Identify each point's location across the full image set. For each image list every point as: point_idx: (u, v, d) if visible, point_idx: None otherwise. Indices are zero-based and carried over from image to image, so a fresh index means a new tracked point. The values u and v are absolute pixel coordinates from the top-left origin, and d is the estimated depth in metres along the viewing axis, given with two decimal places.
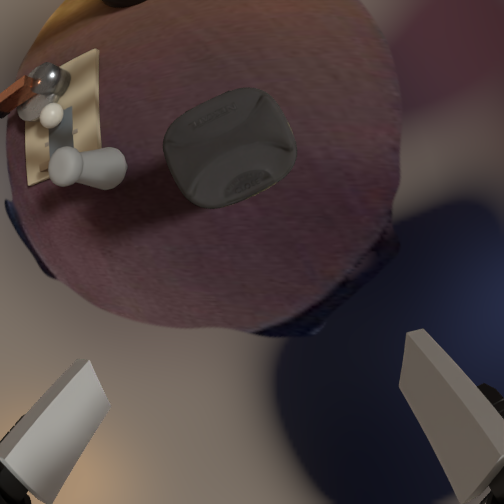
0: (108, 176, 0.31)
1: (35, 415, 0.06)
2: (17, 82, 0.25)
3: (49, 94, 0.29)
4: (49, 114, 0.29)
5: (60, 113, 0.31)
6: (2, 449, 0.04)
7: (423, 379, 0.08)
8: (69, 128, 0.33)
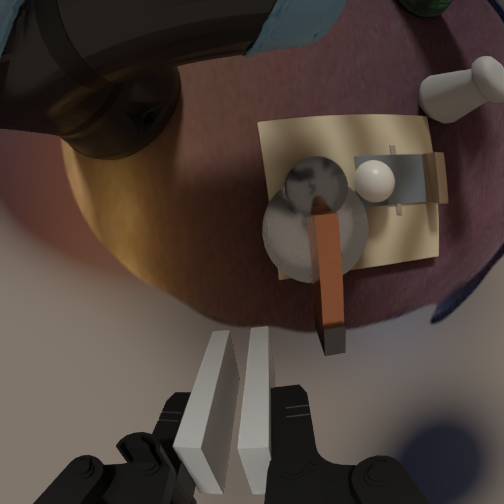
0: None
1: (207, 390, 0.08)
2: (321, 238, 0.21)
3: None
4: (384, 169, 0.23)
5: None
6: (186, 438, 0.06)
7: None
8: (387, 160, 0.26)
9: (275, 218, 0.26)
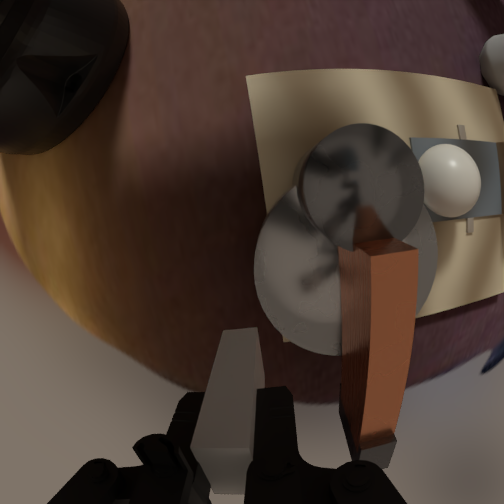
0: None
1: (222, 389, 0.08)
2: (381, 305, 0.09)
3: None
4: (470, 161, 0.10)
5: None
6: (204, 438, 0.06)
7: None
8: None
9: (278, 247, 0.13)
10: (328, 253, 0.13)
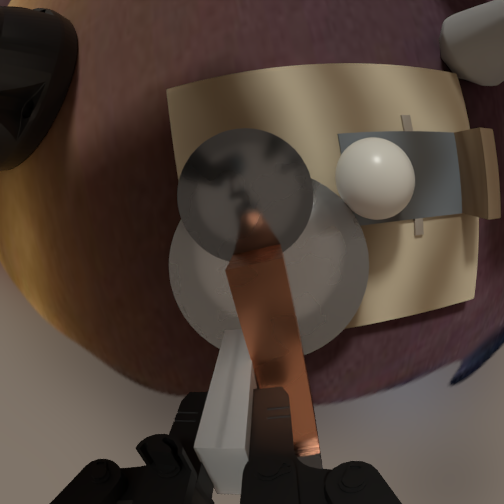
0: None
1: (225, 389, 0.08)
2: (251, 318, 0.09)
3: None
4: (395, 154, 0.11)
5: None
6: (207, 439, 0.06)
7: None
8: (398, 140, 0.14)
9: (188, 260, 0.14)
10: None
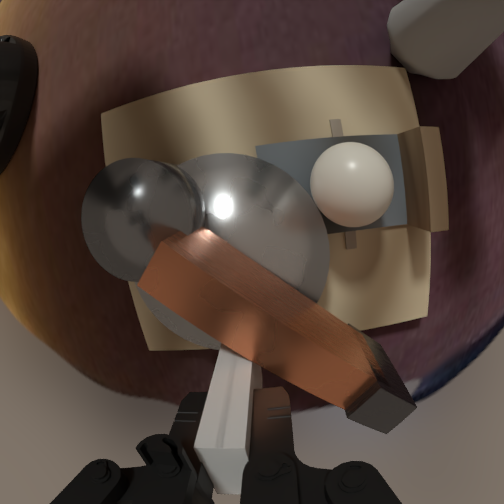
0: None
1: (225, 389, 0.08)
2: (185, 307, 0.09)
3: (181, 169, 0.12)
4: (371, 159, 0.11)
5: None
6: (207, 439, 0.06)
7: None
8: (324, 147, 0.14)
9: None
10: None
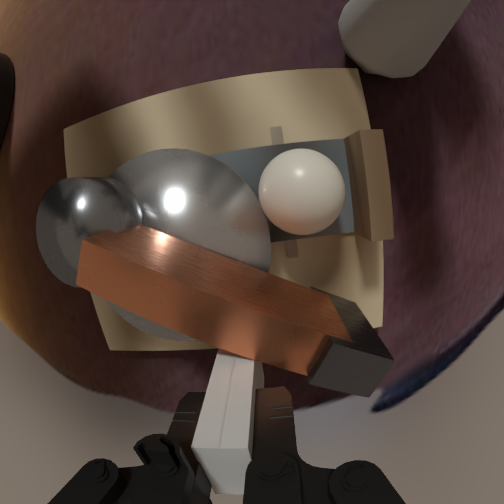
0: None
1: (223, 389, 0.08)
2: (115, 294, 0.09)
3: (111, 179, 0.13)
4: (316, 166, 0.11)
5: None
6: (204, 438, 0.06)
7: None
8: (263, 156, 0.15)
9: None
10: None
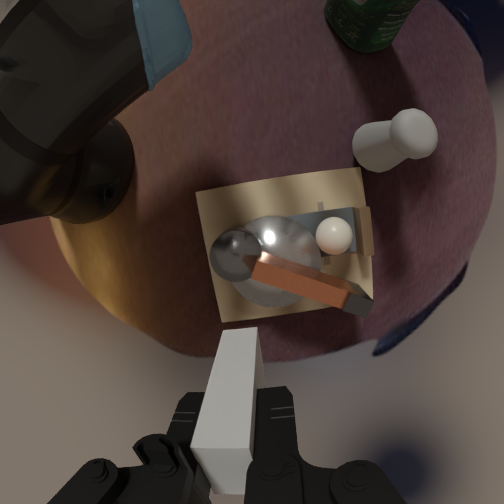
0: None
1: (222, 389, 0.08)
2: (270, 281, 0.26)
3: (246, 229, 0.29)
4: (341, 227, 0.28)
5: (335, 217, 0.29)
6: (204, 438, 0.06)
7: None
8: (314, 216, 0.31)
9: (248, 289, 0.31)
10: None
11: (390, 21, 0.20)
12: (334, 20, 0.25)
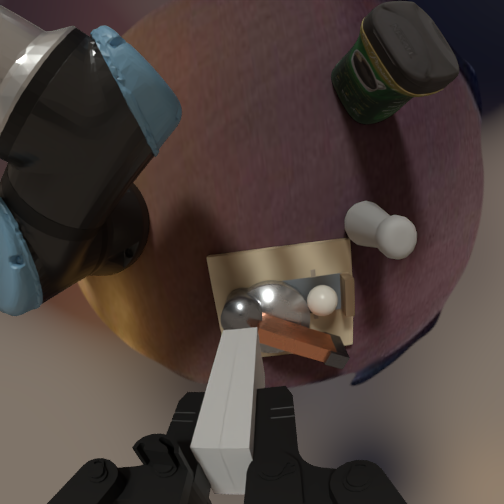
0: (384, 211, 0.31)
1: (222, 389, 0.08)
2: (269, 342, 0.32)
3: (250, 295, 0.35)
4: (328, 297, 0.34)
5: (324, 286, 0.35)
6: (204, 438, 0.06)
7: None
8: (307, 281, 0.38)
9: None
10: None
11: (395, 105, 0.25)
12: (340, 91, 0.31)
